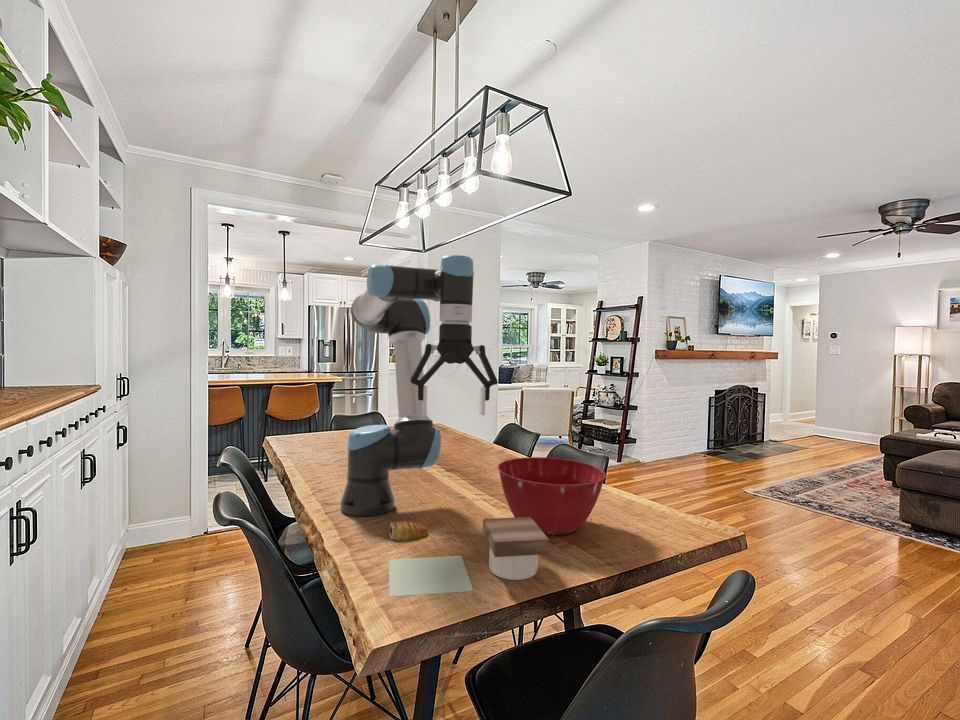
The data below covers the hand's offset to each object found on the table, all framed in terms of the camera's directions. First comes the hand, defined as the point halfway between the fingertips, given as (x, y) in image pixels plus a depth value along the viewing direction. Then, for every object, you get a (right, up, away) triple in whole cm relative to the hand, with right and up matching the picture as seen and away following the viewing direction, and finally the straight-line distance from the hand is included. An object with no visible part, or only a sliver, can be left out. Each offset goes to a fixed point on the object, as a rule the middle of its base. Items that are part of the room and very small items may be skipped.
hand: (453, 414), depth 116 cm
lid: (+13, -26, -11) cm, 31 cm away
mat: (-4, -32, -14) cm, 35 cm away
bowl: (+13, -32, -10) cm, 36 cm away
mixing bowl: (+25, -32, +16) cm, 43 cm away
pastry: (-12, -31, +7) cm, 34 cm away
